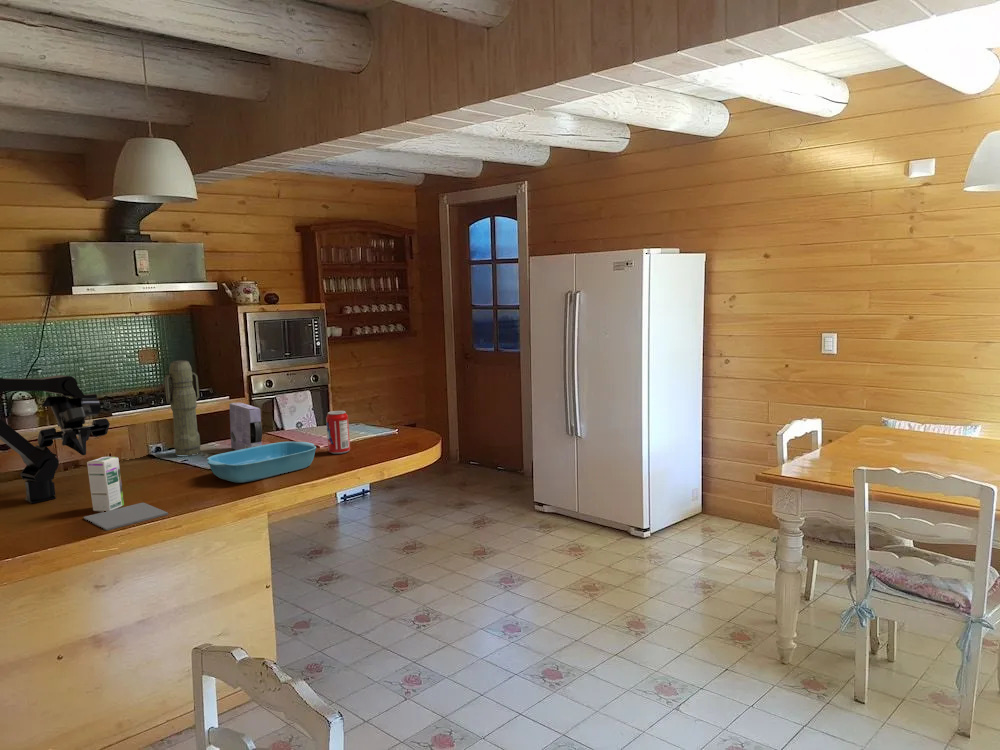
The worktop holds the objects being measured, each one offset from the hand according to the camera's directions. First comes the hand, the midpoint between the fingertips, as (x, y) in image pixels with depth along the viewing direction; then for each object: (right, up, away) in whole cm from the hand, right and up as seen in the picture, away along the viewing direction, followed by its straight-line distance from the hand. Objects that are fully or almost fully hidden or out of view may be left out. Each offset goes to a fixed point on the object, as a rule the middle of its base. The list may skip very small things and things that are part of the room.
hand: (84, 454), depth 218 cm
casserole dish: (+45, -9, +27) cm, 53 cm away
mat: (+21, -15, -17) cm, 31 cm away
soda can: (+65, -5, +50) cm, 82 cm away
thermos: (+7, -6, +56) cm, 57 cm away
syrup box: (+12, -15, -9) cm, 21 cm away
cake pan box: (+29, -5, +57) cm, 64 cm away
